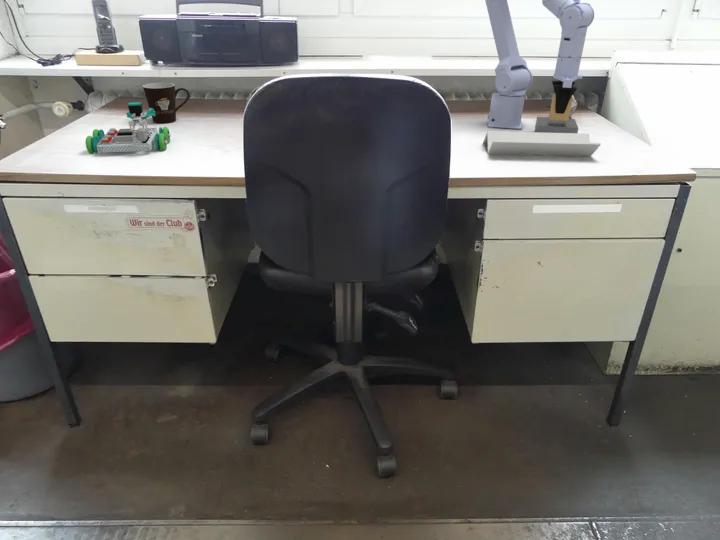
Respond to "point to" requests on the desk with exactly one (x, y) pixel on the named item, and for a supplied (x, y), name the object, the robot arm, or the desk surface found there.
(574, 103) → the game die
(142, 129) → the robot kit
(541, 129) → the charcoal stand
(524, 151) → the grey v-shaped trough
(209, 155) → the desk surface
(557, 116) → the ochre block
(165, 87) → the coffee mug
